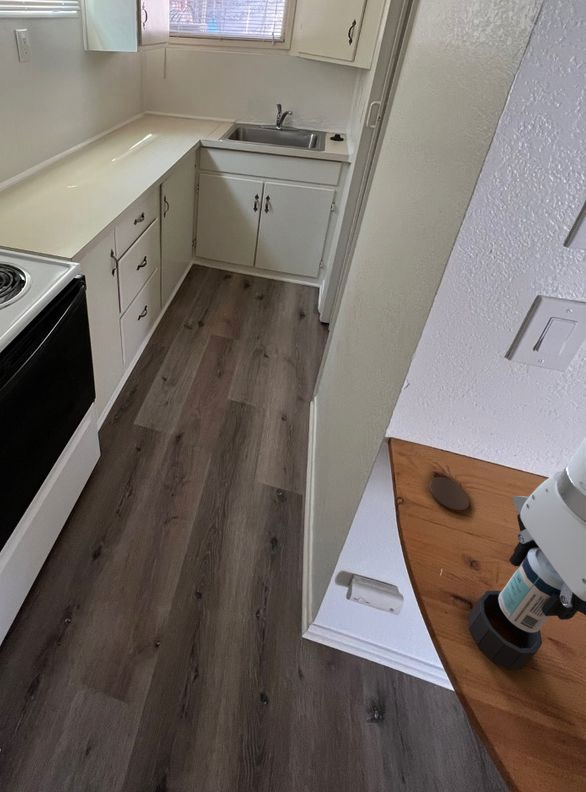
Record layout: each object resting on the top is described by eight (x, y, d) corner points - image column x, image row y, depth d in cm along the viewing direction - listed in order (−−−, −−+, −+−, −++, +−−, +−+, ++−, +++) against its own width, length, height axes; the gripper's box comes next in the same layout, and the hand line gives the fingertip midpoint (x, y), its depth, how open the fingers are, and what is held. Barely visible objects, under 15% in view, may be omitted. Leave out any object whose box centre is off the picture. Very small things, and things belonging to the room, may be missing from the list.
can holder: (503, 607, 64) (516, 589, 62) (539, 669, 58) (555, 652, 56) (458, 608, 64) (469, 591, 62) (489, 670, 58) (503, 653, 55)
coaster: (454, 478, 83) (455, 476, 82) (475, 511, 77) (477, 509, 77) (422, 479, 82) (423, 477, 82) (441, 512, 77) (442, 510, 77)
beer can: (548, 624, 57) (589, 576, 51) (524, 641, 55) (564, 593, 50) (512, 585, 61) (546, 537, 55) (488, 600, 59) (521, 551, 54)
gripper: (727, 589, 39) (629, 674, 47) (571, 433, 54) (517, 519, 62) (648, 591, 39) (563, 676, 47) (513, 434, 54) (467, 520, 62)
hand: (537, 586), depth 55 cm, fingers closed on beer can, 4 cm apart
